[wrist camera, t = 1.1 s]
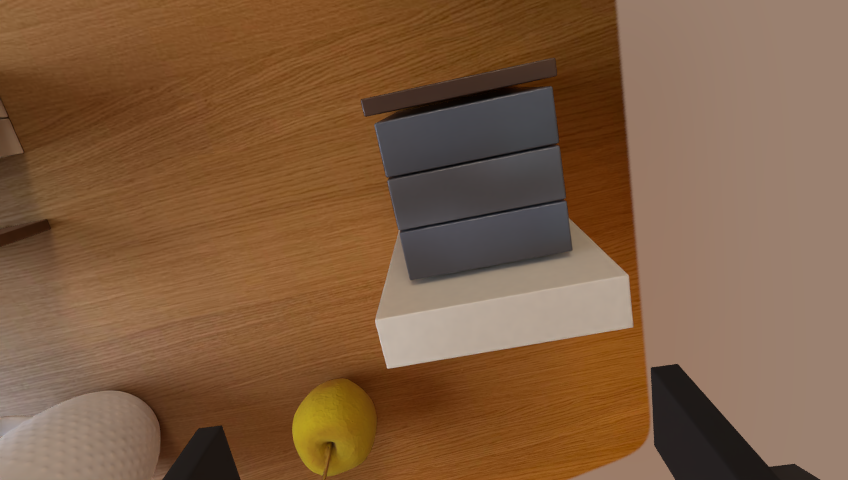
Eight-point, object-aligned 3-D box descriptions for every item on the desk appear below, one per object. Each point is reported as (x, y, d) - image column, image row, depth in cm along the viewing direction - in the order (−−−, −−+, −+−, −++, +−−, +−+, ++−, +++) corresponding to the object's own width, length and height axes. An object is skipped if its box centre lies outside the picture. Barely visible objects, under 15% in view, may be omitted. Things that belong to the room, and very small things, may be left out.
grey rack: (385, 96, 34) (356, 99, 22) (514, 68, 33) (560, 55, 21) (423, 267, 38) (416, 353, 25) (540, 245, 37) (592, 323, 24)
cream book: (400, 224, 37) (374, 320, 21) (546, 196, 36) (629, 274, 21) (407, 255, 37) (387, 369, 22) (551, 228, 37) (634, 327, 21)
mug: (10, 445, 44) (-161, 588, 31) (16, 339, 40) (-173, 451, 28) (176, 487, 44) (74, 642, 32) (194, 386, 41) (89, 514, 29)
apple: (335, 438, 42) (314, 514, 35) (292, 383, 41) (259, 449, 33) (397, 405, 41) (389, 477, 34) (355, 347, 40) (336, 408, 32)
